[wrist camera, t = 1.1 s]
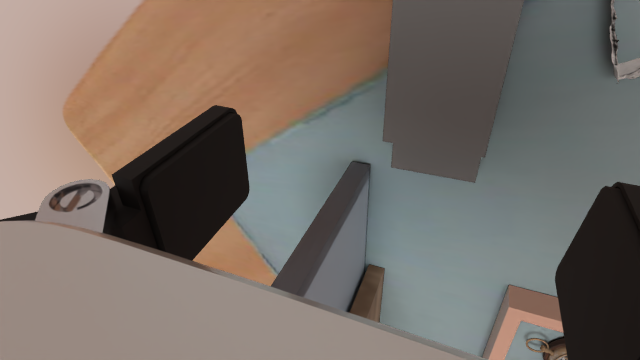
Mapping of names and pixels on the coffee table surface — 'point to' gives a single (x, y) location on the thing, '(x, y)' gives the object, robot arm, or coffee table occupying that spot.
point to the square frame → (521, 318)
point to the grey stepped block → (446, 82)
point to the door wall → (369, 295)
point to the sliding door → (332, 246)
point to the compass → (552, 349)
